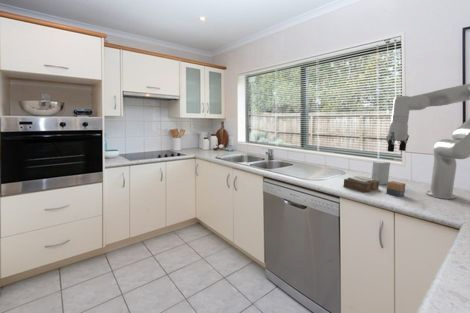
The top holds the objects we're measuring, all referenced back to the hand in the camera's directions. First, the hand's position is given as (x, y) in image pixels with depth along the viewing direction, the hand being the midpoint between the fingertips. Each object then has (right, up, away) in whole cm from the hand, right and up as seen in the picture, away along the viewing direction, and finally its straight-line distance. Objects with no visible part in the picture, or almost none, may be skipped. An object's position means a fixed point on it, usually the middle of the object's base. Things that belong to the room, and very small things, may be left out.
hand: (396, 151), depth 135 cm
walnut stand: (-11, -23, +17) cm, 30 cm away
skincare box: (+7, -21, +28) cm, 36 cm away
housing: (+2, -25, +4) cm, 25 cm away
